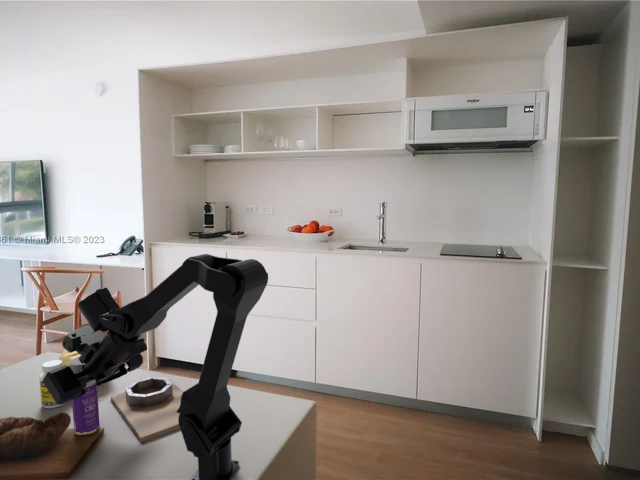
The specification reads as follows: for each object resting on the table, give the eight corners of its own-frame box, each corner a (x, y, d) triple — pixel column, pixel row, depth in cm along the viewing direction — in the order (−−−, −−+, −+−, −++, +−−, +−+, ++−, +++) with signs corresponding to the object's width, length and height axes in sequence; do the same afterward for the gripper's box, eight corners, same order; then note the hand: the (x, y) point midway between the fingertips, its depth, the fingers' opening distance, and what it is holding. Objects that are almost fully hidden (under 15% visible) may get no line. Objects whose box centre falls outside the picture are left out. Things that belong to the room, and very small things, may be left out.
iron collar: (157, 408, 96) (156, 397, 95) (118, 404, 97) (117, 394, 97) (178, 388, 105) (178, 378, 105) (142, 385, 107) (142, 375, 106)
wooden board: (207, 417, 94) (207, 413, 94) (141, 442, 85) (140, 437, 85) (169, 382, 110) (169, 379, 110) (110, 400, 102) (110, 396, 101)
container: (88, 437, 87) (83, 366, 85) (68, 434, 88) (63, 364, 86) (104, 424, 91) (100, 357, 89) (85, 422, 92) (80, 355, 90)
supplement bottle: (38, 410, 97) (34, 369, 96) (46, 399, 102) (42, 359, 101) (65, 407, 98) (61, 366, 97) (71, 396, 104) (68, 357, 102)
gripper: (130, 304, 93) (98, 345, 99) (44, 330, 76) (12, 378, 82) (159, 344, 91) (125, 384, 97) (77, 381, 74) (42, 426, 80)
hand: (79, 391), depth 89 cm, fingers open, 6 cm apart
